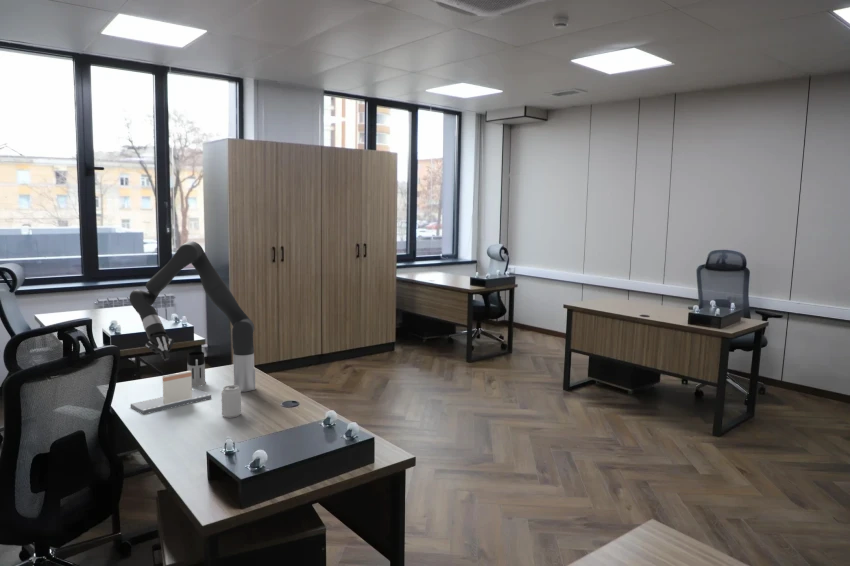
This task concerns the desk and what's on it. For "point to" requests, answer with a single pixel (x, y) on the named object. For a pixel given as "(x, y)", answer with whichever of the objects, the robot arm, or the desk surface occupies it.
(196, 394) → the board
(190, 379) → the white square panel
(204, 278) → the robot arm
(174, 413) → the desk surface
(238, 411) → the can
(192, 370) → the glass holder
